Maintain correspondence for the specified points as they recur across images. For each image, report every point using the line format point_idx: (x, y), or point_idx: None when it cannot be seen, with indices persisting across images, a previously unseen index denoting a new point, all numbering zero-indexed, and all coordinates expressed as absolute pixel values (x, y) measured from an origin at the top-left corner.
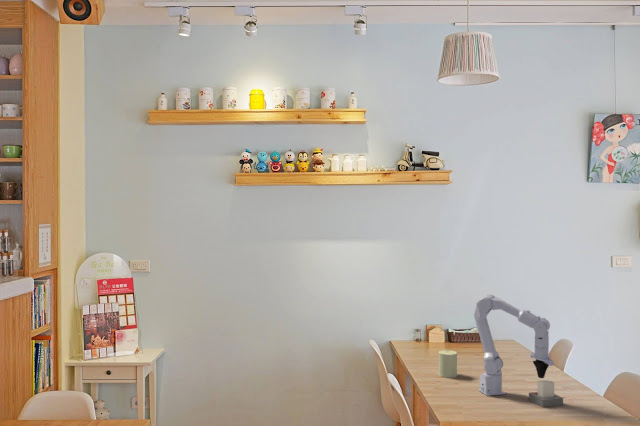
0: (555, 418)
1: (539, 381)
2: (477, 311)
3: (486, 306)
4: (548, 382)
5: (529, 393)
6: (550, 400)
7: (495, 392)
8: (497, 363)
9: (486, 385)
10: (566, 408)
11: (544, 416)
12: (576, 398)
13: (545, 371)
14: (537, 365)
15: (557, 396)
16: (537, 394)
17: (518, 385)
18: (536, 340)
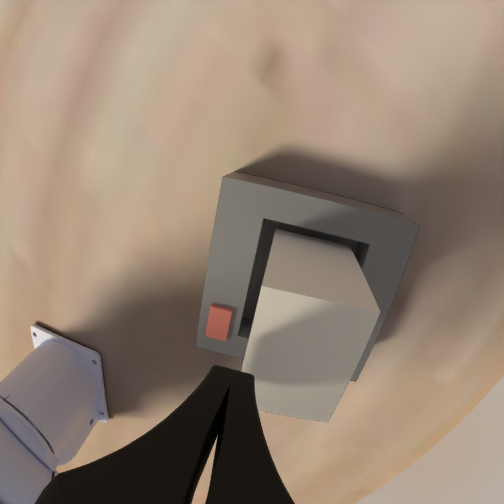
0: (467, 396)
1: (258, 406)
2: None
3: None
4: (338, 365)
5: (204, 347)
6: (378, 326)
7: (95, 396)
8: (18, 496)
9: (81, 445)
10: (447, 246)
11: (425, 419)
12: (340, 6)
13: (262, 443)
14: None
15: (369, 231)
16: (241, 315)
17: (7, 177)
18: None
